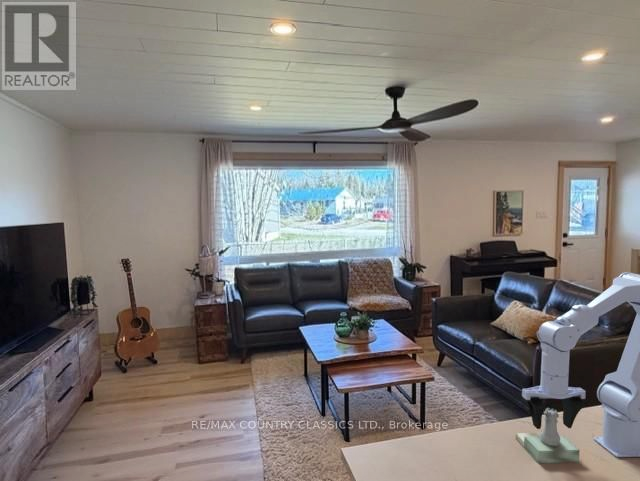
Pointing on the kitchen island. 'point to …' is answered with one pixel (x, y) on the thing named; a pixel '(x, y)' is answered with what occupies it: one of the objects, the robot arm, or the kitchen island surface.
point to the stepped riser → (548, 449)
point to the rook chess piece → (550, 428)
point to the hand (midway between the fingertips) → (552, 426)
